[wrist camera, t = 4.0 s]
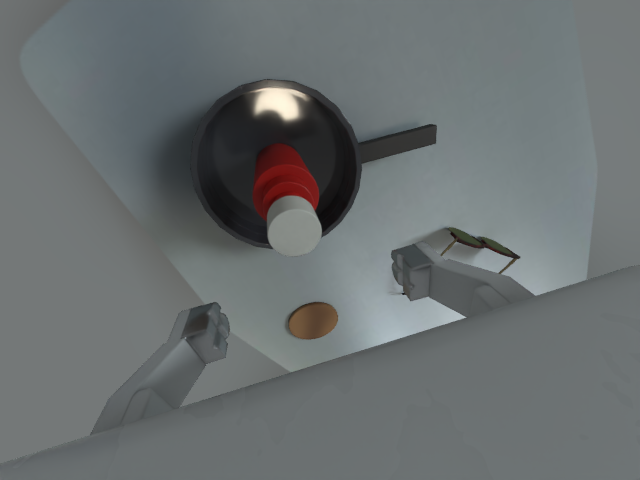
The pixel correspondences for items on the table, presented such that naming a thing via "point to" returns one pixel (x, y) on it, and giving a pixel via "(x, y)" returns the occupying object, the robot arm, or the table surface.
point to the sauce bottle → (286, 200)
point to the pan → (261, 131)
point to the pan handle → (397, 143)
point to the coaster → (313, 320)
